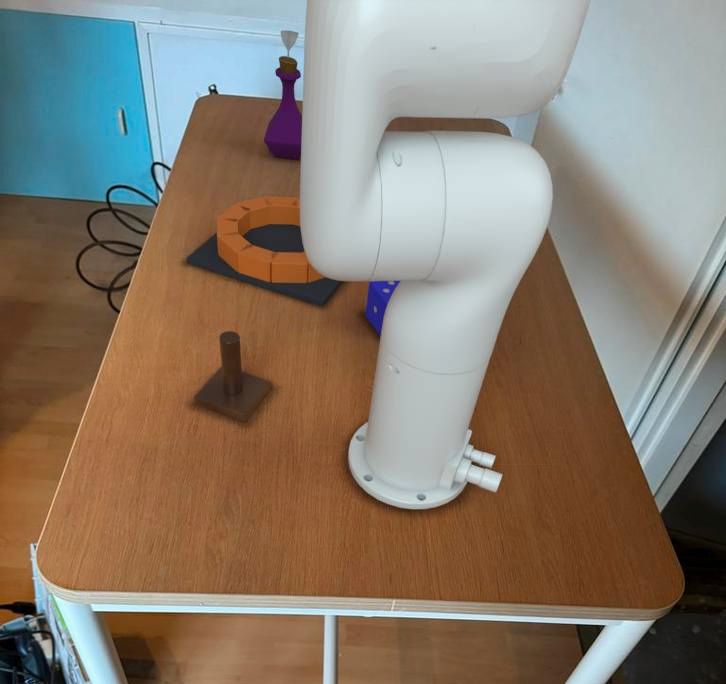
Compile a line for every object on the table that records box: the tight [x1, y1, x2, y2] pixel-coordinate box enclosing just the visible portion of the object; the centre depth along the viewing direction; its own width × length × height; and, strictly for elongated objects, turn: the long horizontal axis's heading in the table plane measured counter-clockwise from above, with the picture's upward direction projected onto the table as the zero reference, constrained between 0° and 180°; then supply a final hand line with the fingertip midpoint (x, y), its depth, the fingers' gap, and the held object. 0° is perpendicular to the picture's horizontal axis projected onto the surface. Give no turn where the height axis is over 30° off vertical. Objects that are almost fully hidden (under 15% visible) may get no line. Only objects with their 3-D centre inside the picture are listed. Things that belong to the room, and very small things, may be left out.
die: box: [364, 281, 400, 337], centre depth 80 cm, size 5×5×5 cm
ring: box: [216, 195, 325, 283], centre depth 88 cm, size 18×18×3 cm
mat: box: [185, 224, 344, 307], centre depth 89 cm, size 20×18×1 cm
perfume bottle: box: [263, 30, 302, 161], centre depth 104 cm, size 8×8×18 cm
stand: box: [193, 330, 272, 424], centre depth 67 cm, size 6×6×8 cm
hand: (338, 17), depth 76 cm, fingers open, 9 cm apart
